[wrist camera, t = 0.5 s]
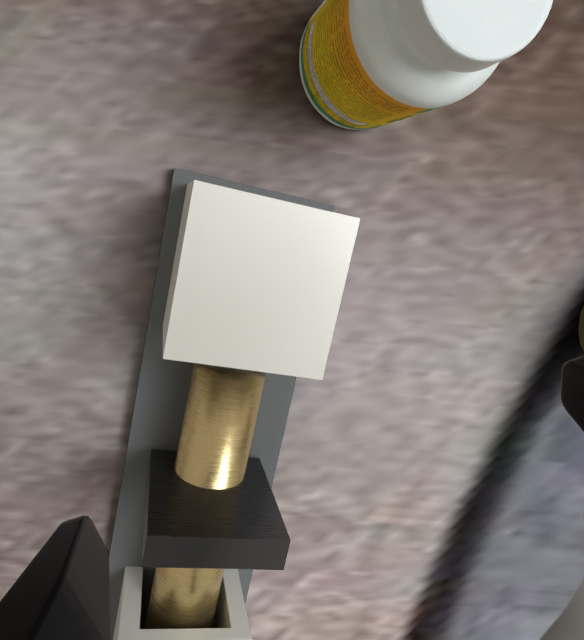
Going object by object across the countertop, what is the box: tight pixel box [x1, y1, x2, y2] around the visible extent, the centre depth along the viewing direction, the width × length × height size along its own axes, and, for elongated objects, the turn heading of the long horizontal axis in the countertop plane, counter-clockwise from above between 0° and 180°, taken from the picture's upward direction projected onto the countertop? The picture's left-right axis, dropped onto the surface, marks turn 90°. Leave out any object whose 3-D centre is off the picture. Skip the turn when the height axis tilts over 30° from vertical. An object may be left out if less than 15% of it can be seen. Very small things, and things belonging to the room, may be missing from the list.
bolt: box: [141, 363, 290, 629], centre depth 21 cm, size 17×5×6 cm, turn 167°
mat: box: [109, 168, 335, 640], centre depth 24 cm, size 26×7×1 cm, turn 167°
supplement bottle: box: [299, 0, 553, 130], centre depth 17 cm, size 5×5×10 cm
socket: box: [163, 180, 360, 380], centre depth 20 cm, size 6×6×5 cm
